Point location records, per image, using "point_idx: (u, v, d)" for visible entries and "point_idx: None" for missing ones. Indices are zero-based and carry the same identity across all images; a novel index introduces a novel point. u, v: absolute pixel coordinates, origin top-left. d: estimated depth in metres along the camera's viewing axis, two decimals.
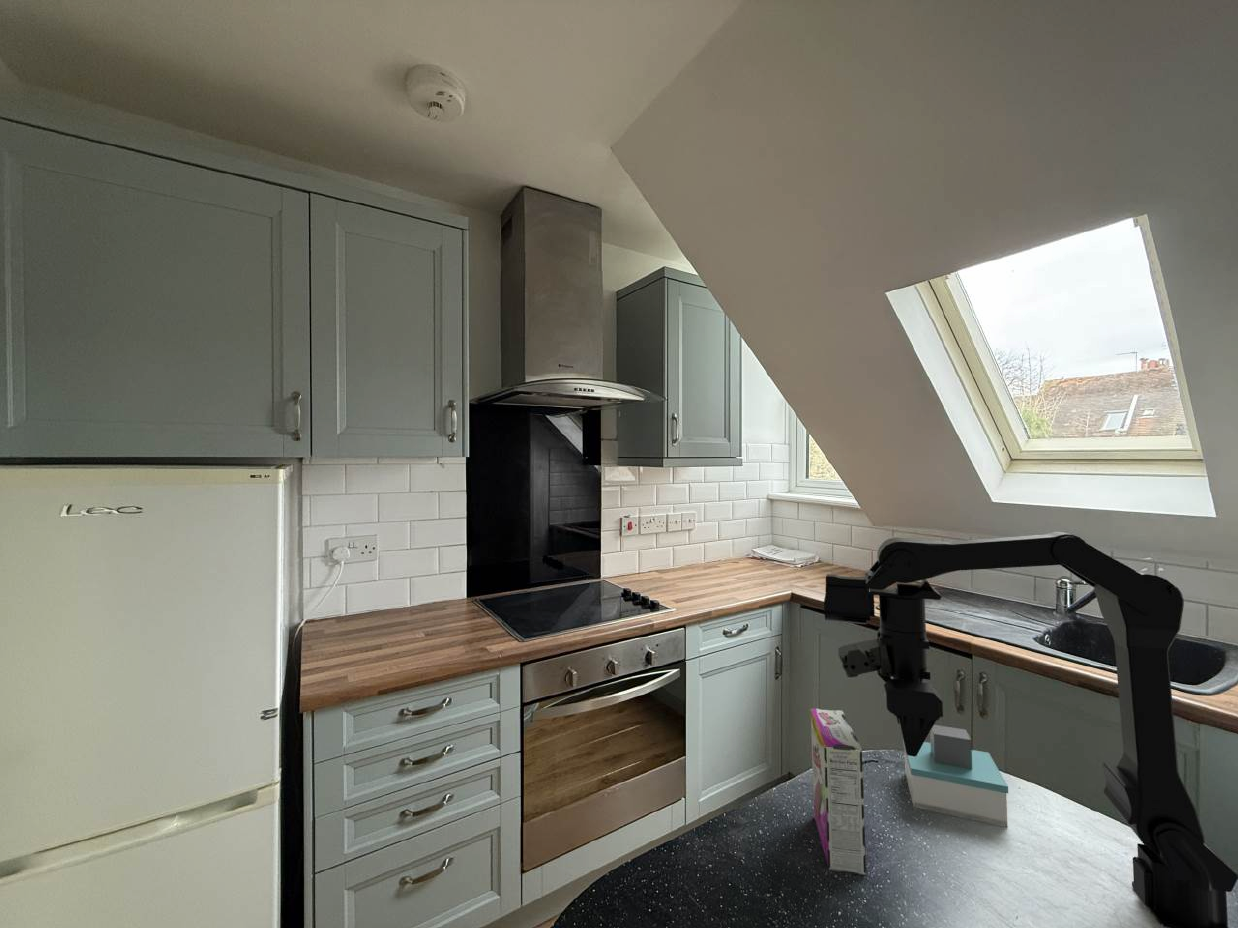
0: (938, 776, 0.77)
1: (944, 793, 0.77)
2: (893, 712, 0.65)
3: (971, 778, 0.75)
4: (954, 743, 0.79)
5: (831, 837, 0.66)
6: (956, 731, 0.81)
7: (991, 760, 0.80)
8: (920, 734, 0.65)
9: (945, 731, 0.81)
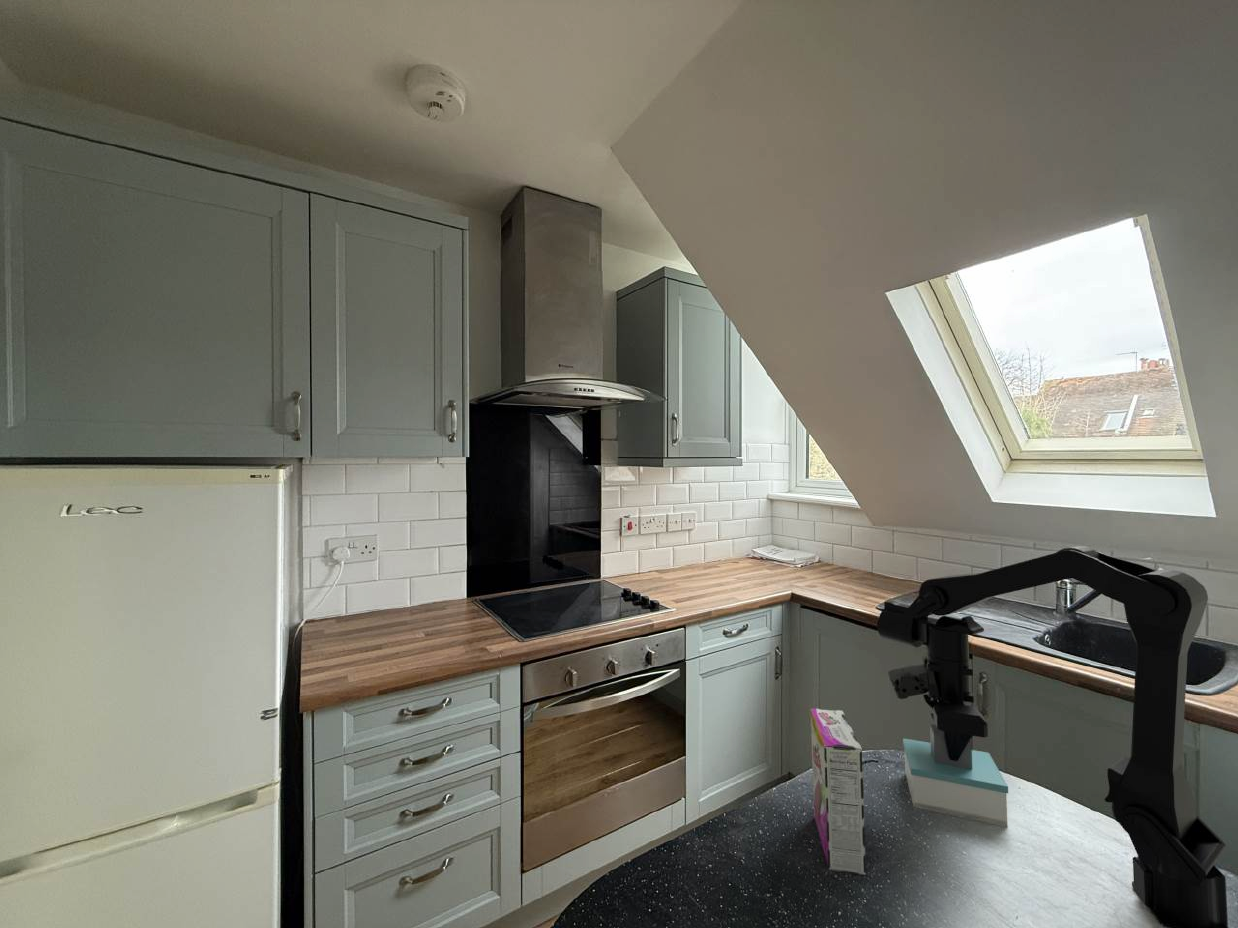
0: (938, 776, 0.77)
1: (944, 793, 0.77)
2: None
3: (971, 778, 0.75)
4: None
5: (831, 837, 0.66)
6: None
7: (991, 760, 0.80)
8: (961, 742, 0.77)
9: None
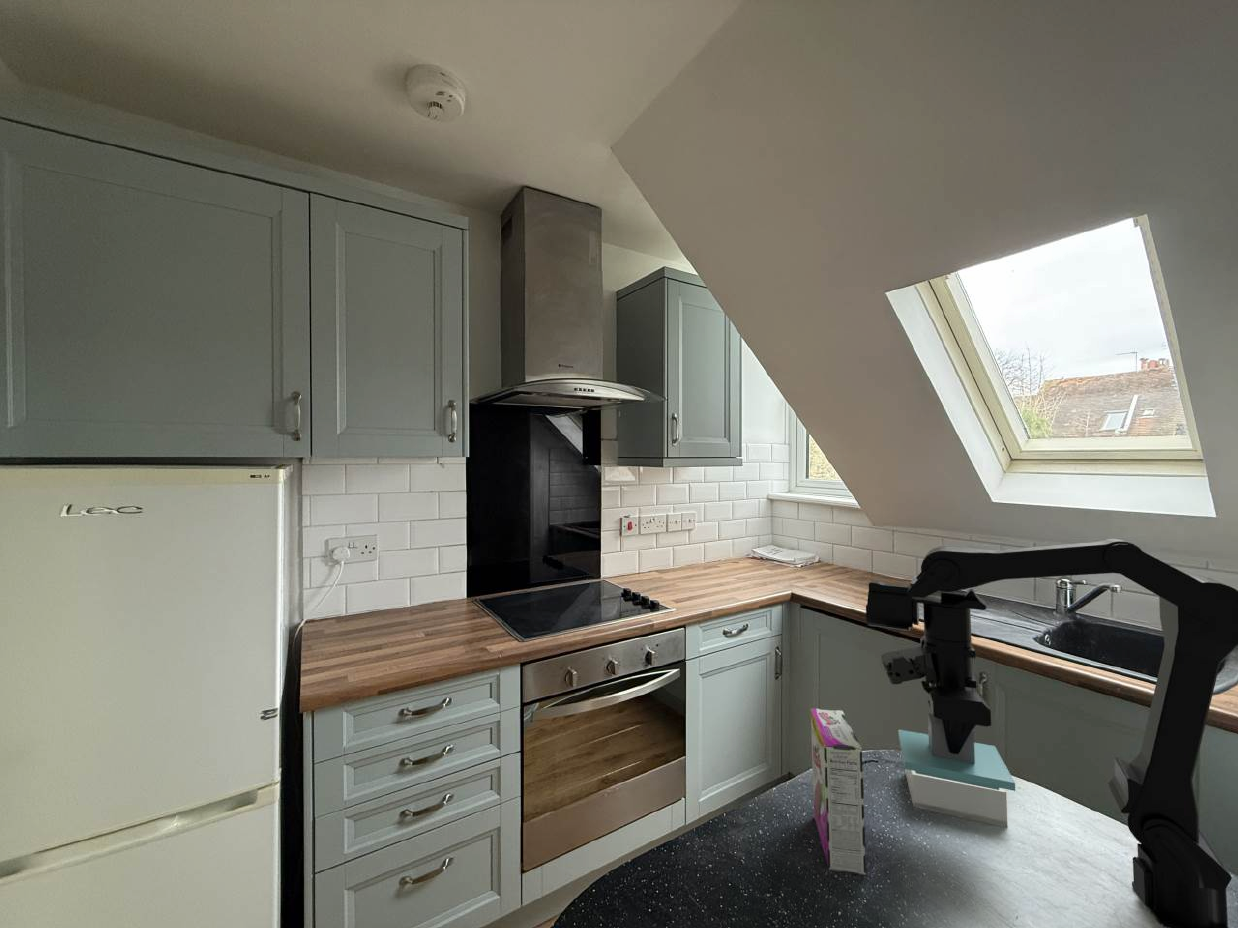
0: (935, 771, 0.68)
1: (944, 793, 0.77)
2: None
3: (973, 773, 0.67)
4: None
5: (831, 837, 0.66)
6: None
7: (997, 754, 0.71)
8: (962, 733, 0.68)
9: None
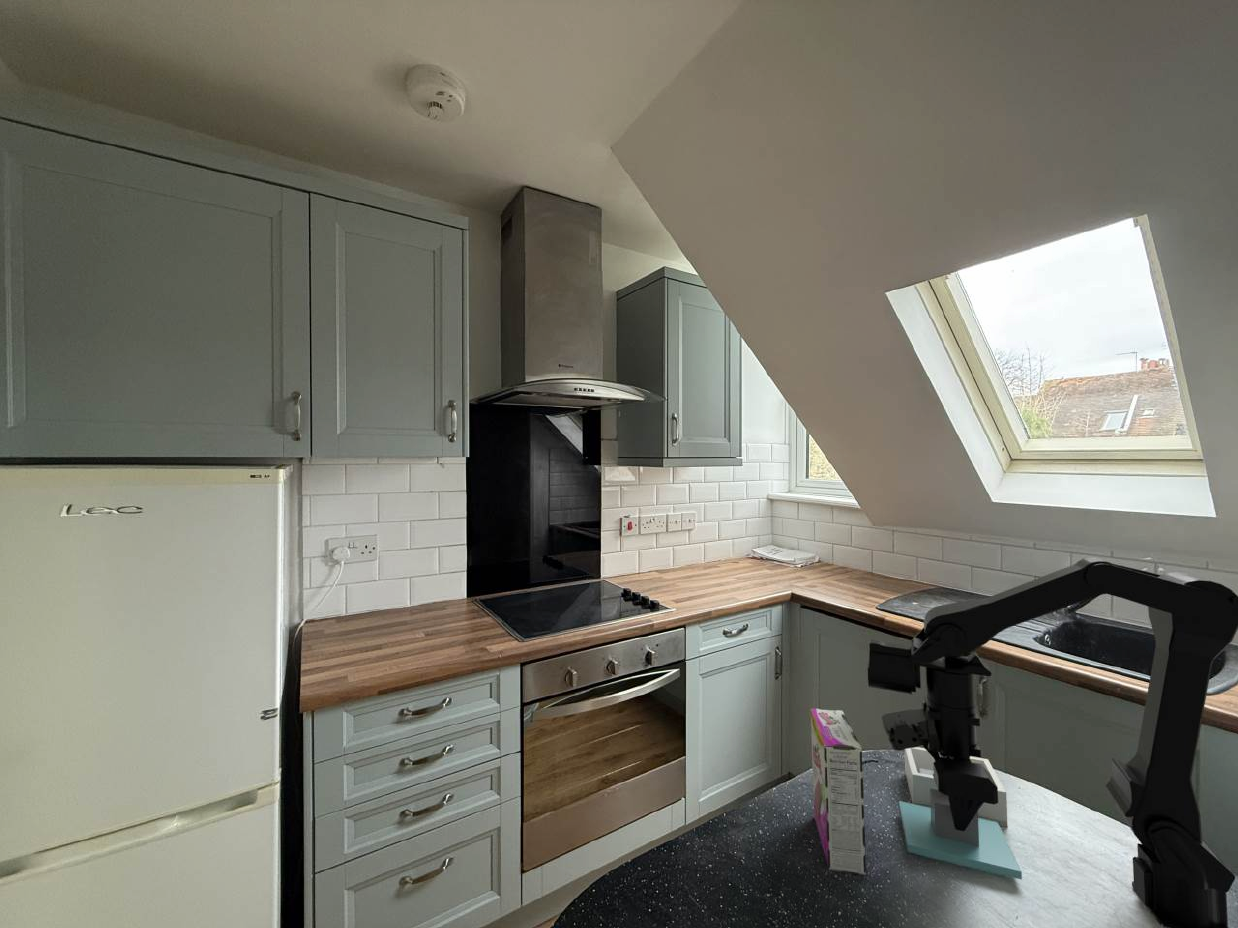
0: (939, 855, 0.66)
1: None
2: None
3: (978, 859, 0.65)
4: None
5: (831, 837, 0.66)
6: None
7: (1001, 833, 0.69)
8: (969, 810, 0.65)
9: None
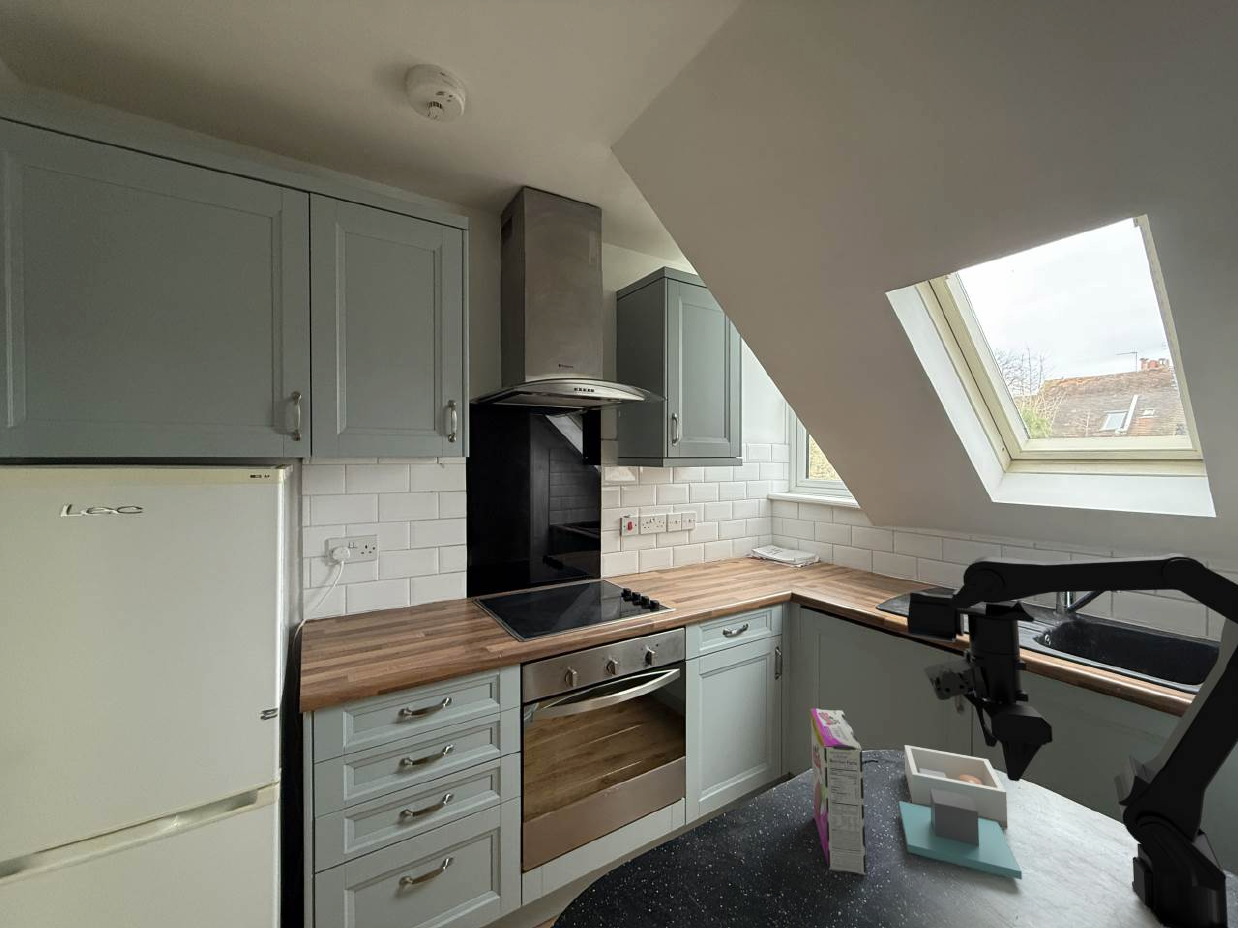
0: (939, 855, 0.66)
1: None
2: (997, 737, 0.63)
3: (978, 859, 0.65)
4: (958, 814, 0.68)
5: (831, 837, 0.66)
6: (960, 799, 0.70)
7: (1001, 833, 0.69)
8: (1024, 759, 0.64)
9: (948, 798, 0.70)
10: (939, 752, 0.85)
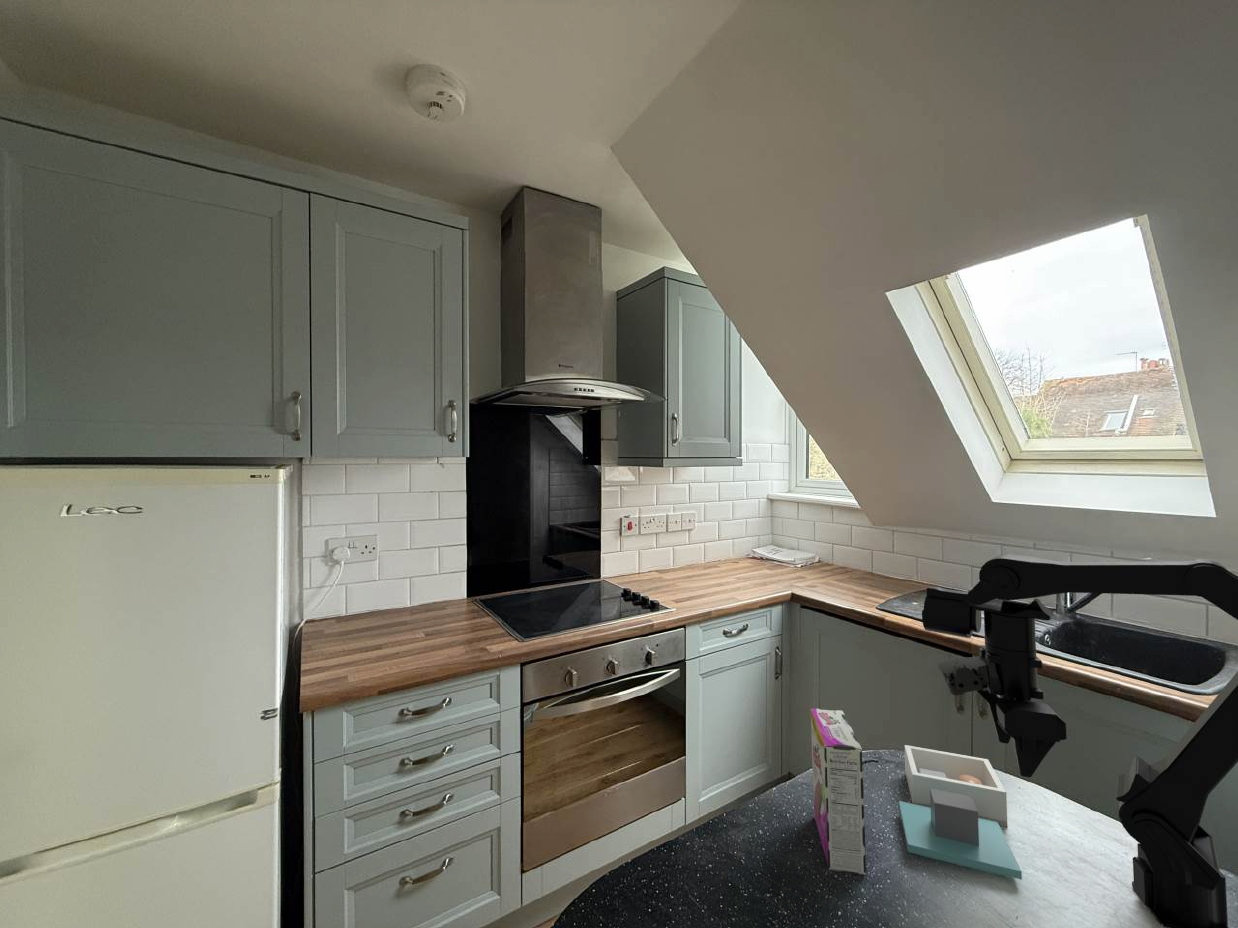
0: (939, 855, 0.66)
1: None
2: (1010, 733, 0.64)
3: (978, 859, 0.65)
4: (958, 814, 0.68)
5: (831, 837, 0.66)
6: (960, 799, 0.70)
7: (1001, 833, 0.69)
8: (1036, 755, 0.64)
9: (948, 798, 0.70)
10: (939, 752, 0.85)
